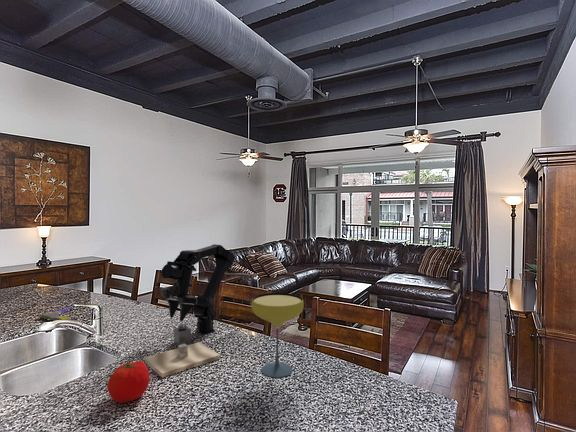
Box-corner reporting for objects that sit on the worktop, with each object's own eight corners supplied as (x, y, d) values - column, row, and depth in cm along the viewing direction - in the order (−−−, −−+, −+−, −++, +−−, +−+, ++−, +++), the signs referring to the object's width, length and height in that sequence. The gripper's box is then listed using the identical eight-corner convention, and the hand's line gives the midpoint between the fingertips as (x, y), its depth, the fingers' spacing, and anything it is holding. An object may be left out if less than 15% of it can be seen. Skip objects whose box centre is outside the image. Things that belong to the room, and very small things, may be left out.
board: (199, 345, 142) (199, 332, 142) (220, 358, 130) (220, 344, 130) (144, 361, 127) (144, 346, 127) (162, 377, 115) (162, 361, 115)
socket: (185, 339, 148) (185, 323, 148) (190, 343, 144) (190, 326, 144) (174, 342, 145) (173, 325, 144) (179, 346, 141) (179, 329, 141)
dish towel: (104, 311, 188) (104, 306, 188) (59, 325, 166) (59, 319, 166) (82, 307, 196) (82, 302, 196) (36, 320, 173) (36, 314, 173)
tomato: (159, 390, 108) (159, 357, 107) (128, 413, 96) (128, 376, 96) (130, 384, 111) (130, 352, 111) (97, 405, 99) (96, 370, 99)
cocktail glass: (292, 387, 110) (293, 309, 109) (241, 377, 116) (242, 303, 115) (309, 363, 127) (310, 295, 126) (264, 355, 133) (264, 290, 132)
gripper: (156, 276, 148) (148, 314, 144) (175, 280, 134) (166, 322, 131) (180, 279, 155) (173, 316, 152) (201, 283, 141) (193, 323, 138)
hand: (176, 319), depth 143 cm, fingers open, 9 cm apart
